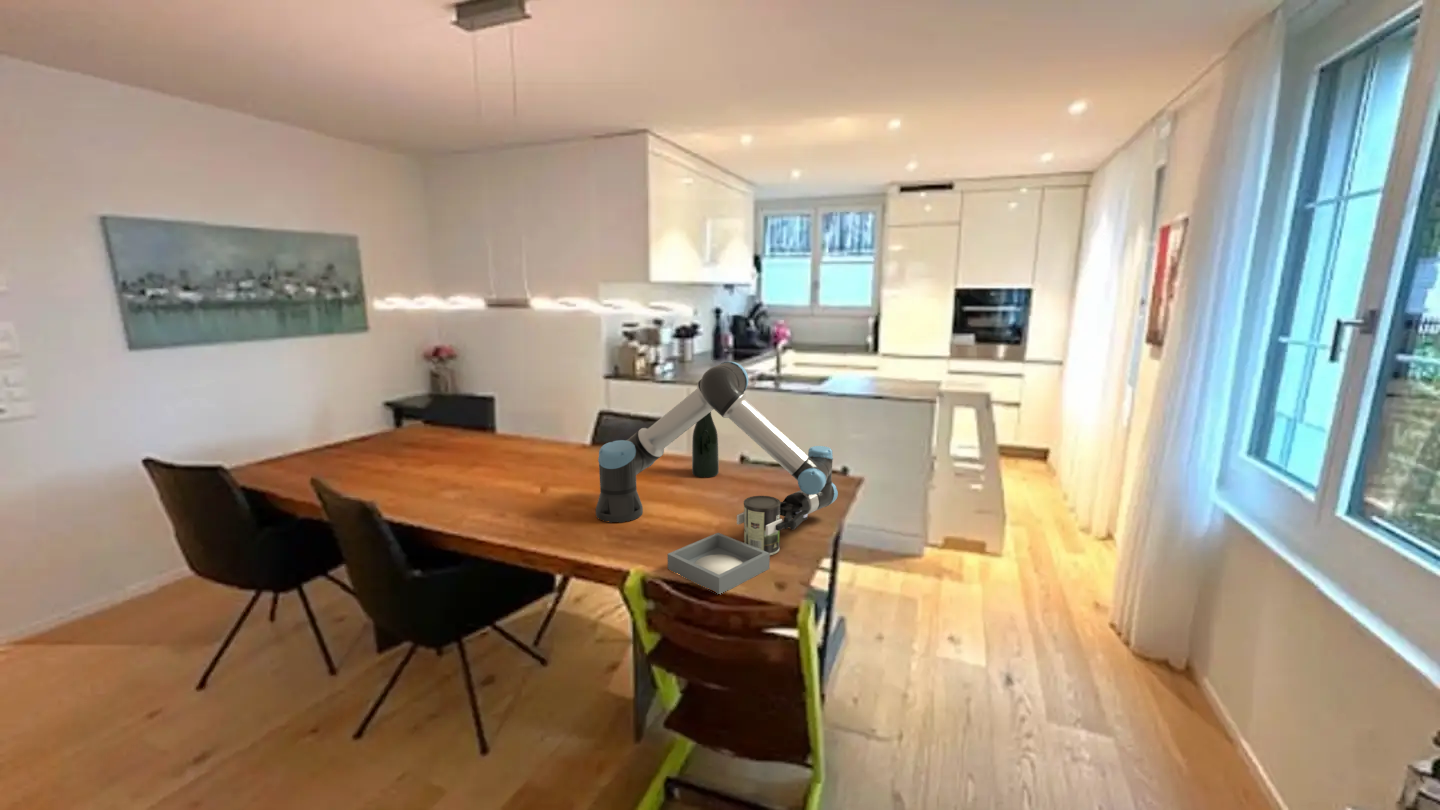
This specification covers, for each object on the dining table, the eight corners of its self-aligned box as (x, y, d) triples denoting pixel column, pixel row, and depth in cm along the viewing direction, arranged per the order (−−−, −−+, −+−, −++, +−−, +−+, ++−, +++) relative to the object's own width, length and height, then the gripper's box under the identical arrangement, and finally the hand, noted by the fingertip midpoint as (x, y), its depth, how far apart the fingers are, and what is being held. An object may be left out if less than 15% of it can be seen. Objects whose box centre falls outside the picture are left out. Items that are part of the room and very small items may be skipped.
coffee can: (778, 540, 177) (779, 495, 174) (781, 556, 167) (782, 508, 164) (743, 540, 177) (743, 495, 174) (743, 556, 167) (744, 508, 164)
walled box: (719, 595, 146) (719, 578, 146) (667, 569, 159) (667, 553, 159) (769, 568, 160) (769, 552, 159) (718, 547, 173) (718, 532, 172)
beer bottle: (694, 469, 244) (693, 389, 237) (719, 470, 243) (719, 389, 236) (690, 478, 234) (689, 394, 227) (717, 478, 233) (716, 394, 226)
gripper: (831, 525, 176) (783, 549, 160) (771, 506, 191) (722, 526, 176) (832, 501, 174) (784, 523, 159) (771, 483, 190) (722, 502, 174)
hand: (751, 525), depth 167 cm, fingers closed on coffee can, 10 cm apart
